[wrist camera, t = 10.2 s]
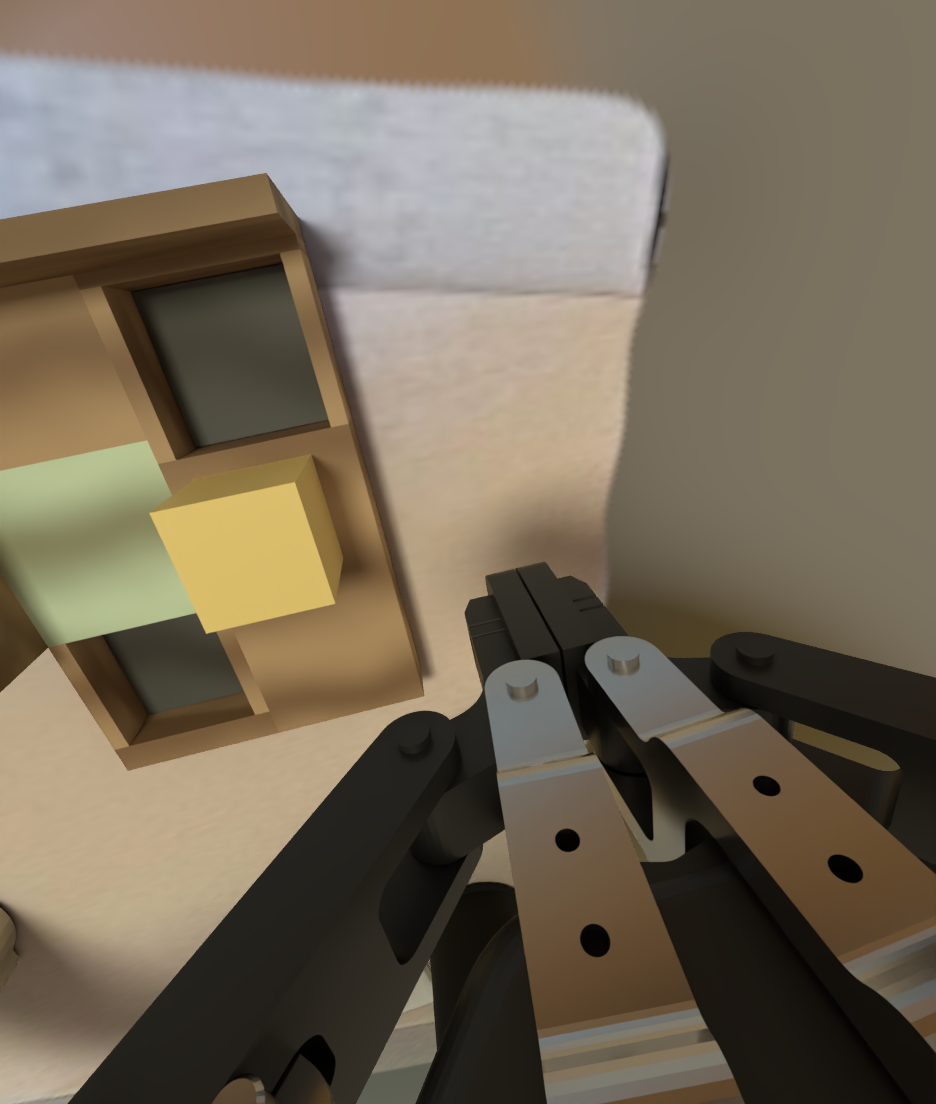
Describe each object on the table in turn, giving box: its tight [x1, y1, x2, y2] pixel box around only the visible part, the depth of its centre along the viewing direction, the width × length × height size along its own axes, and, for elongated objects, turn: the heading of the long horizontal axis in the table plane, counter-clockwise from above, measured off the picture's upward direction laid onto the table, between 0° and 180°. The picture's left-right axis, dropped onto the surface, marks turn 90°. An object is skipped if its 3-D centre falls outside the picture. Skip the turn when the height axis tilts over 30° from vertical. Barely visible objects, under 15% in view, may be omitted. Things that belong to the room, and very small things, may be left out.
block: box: [149, 455, 343, 634], centre depth 20 cm, size 5×5×4 cm
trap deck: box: [0, 173, 424, 770], centre depth 22 cm, size 23×17×6 cm
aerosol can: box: [430, 883, 518, 1050], centre depth 31 cm, size 8×8×20 cm
